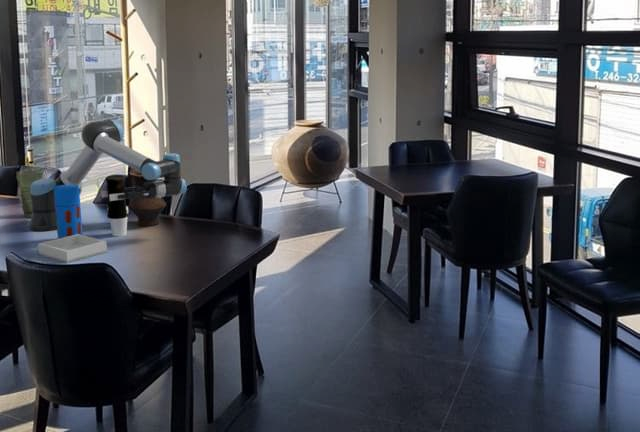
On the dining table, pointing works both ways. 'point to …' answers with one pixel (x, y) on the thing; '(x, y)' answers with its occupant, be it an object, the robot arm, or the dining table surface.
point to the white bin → (72, 248)
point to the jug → (144, 201)
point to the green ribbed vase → (27, 187)
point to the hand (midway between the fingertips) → (105, 196)
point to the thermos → (68, 210)
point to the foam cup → (119, 225)
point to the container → (117, 206)
